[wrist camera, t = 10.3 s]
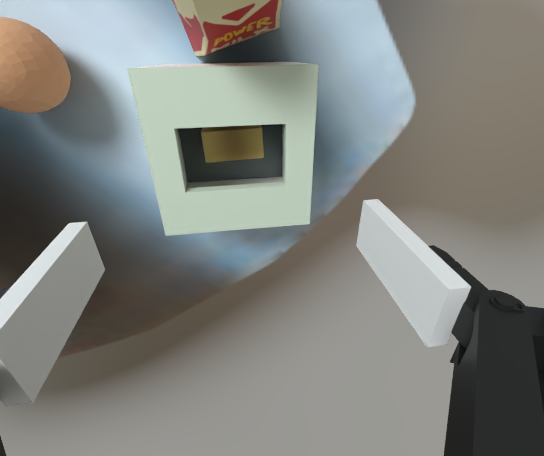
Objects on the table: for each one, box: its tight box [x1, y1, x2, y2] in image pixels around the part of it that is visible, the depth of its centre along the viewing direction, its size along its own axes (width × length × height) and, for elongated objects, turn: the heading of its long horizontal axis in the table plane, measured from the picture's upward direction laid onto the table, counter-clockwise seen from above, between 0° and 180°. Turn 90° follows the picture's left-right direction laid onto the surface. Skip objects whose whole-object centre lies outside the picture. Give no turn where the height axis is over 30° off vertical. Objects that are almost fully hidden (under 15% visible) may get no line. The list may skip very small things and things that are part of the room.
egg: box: [0, 17, 71, 113], centre depth 26 cm, size 7×7×8 cm
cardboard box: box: [201, 125, 264, 163], centre depth 33 cm, size 6×3×6 cm, turn 93°
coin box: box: [128, 62, 319, 236], centre depth 30 cm, size 14×14×11 cm
